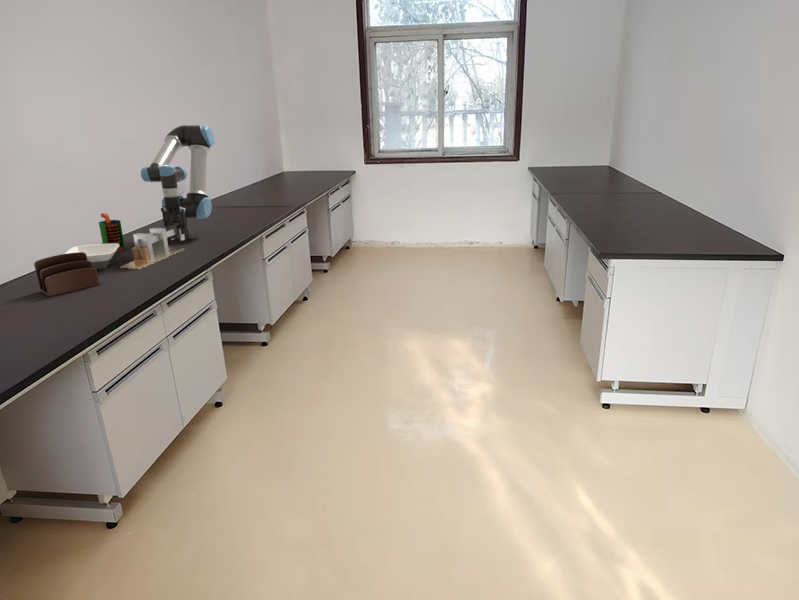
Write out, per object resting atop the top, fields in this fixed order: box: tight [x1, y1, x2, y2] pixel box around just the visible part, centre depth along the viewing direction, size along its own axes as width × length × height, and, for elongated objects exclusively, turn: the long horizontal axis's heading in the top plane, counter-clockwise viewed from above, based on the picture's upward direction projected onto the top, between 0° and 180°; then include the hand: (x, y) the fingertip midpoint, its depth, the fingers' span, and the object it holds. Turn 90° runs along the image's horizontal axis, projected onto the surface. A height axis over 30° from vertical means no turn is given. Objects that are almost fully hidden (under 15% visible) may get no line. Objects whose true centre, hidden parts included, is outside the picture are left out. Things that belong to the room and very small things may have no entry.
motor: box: [98, 212, 126, 253], centre depth 281 cm, size 10×9×20 cm
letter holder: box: [33, 252, 101, 297], centre depth 225 cm, size 10×20×14 cm, turn 138°
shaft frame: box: [120, 227, 185, 270], centre depth 267 cm, size 10×36×14 cm, turn 167°
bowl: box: [63, 243, 120, 270], centre depth 256 cm, size 22×23×8 cm
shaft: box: [140, 223, 185, 245], centre depth 274 cm, size 5×30×7 cm, turn 167°
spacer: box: [131, 246, 150, 263], centre depth 260 cm, size 7×2×7 cm, turn 80°
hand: (178, 239), depth 287 cm, fingers closed on shaft, 5 cm apart
